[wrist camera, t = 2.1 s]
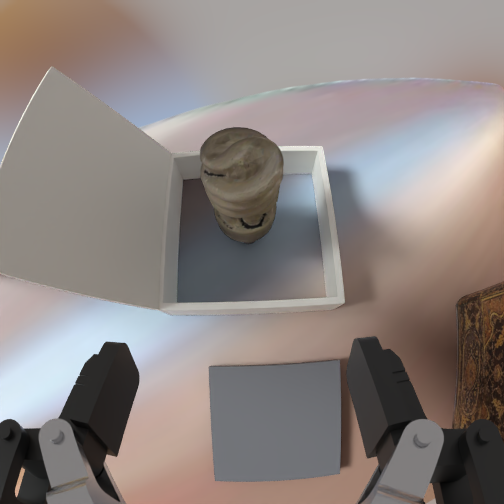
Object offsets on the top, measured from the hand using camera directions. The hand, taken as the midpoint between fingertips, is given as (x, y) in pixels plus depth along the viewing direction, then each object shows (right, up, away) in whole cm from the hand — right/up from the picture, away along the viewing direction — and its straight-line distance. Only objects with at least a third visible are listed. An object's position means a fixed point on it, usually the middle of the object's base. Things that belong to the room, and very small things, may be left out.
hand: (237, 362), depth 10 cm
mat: (+3, -13, +15) cm, 20 cm away
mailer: (-3, +5, +21) cm, 22 cm away
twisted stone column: (0, +5, +21) cm, 22 cm away
